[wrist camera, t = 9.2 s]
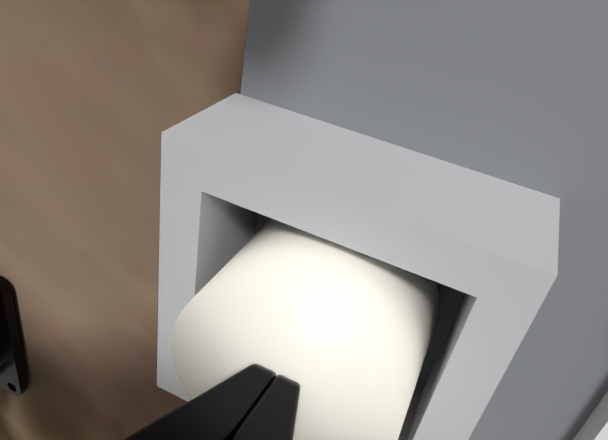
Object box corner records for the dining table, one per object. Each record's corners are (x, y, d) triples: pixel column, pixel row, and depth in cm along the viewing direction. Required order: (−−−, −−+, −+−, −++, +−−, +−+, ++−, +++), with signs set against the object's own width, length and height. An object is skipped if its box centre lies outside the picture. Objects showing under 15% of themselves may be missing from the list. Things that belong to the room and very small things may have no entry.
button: (408, 392, 12) (365, 517, 9) (244, 320, 13) (168, 415, 10) (468, 244, 9) (434, 356, 7) (265, 170, 10) (175, 247, 8)
